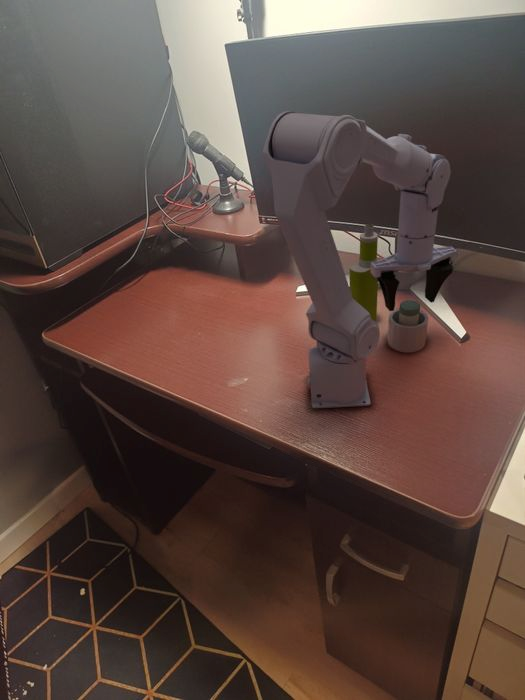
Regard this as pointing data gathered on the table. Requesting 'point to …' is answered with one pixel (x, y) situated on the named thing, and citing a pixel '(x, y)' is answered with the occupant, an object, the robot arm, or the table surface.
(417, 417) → the table surface
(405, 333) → the light grey round cup
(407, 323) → the cylinder
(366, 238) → the vape
